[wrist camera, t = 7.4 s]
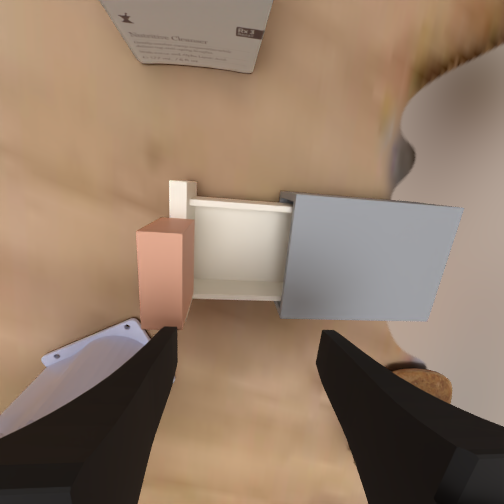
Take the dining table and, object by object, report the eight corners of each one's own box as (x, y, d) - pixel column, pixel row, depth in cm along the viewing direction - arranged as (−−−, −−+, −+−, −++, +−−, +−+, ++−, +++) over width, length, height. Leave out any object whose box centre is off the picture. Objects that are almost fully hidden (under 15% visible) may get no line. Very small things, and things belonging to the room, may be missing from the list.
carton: (411, 201, 21) (464, 207, 17) (387, 293, 24) (427, 321, 19) (280, 190, 20) (296, 194, 15) (269, 289, 23) (280, 318, 18)
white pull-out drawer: (333, 192, 20) (414, 202, 11) (316, 294, 23) (370, 365, 14) (177, 179, 19) (133, 179, 10) (177, 289, 21) (143, 365, 13)
